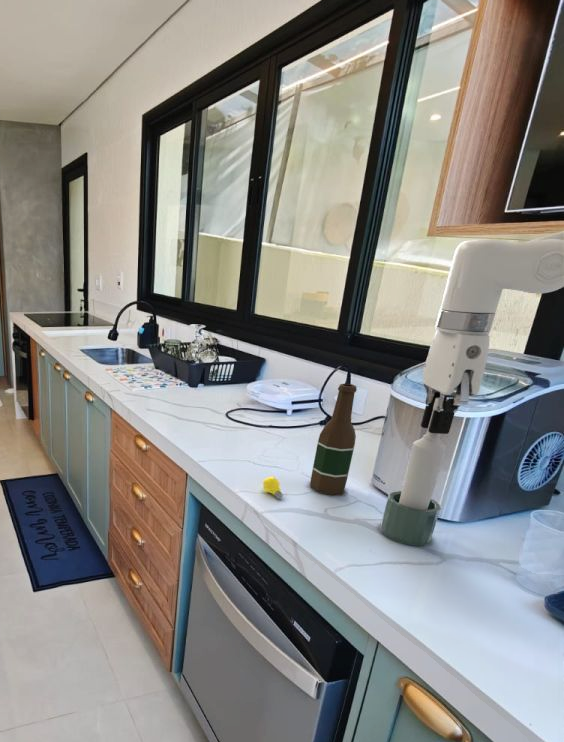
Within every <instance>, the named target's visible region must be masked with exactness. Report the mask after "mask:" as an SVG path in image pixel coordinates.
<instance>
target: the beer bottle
mask: <svg viewBox="0 0 564 742" xmlns="http://www.w3.org/2000/svg"><path fill="white" fill-rule="evenodd" d="M337 390H338V393H337V396H336V401H335V403H334V404H335V405H334V409H333V412H332V416H331V418H330V420H329V421H327V423H326V424H325V425H324V426H323V428H322V430H321V432H320V433H319V436H318V439H317V444H316V450H315V454H314V455H315V456H314V460H313V465H312V471H311V476H310V483H309V486H310V488H311V489H313V490H314V491H316V492H317V493H319V494H323V495H329V496H336V495H337V496H338V495H343V494H344V491H345V489H346V484H347V482H348V479H349V473H350V468H351V463H352V460H353V455H354V450H355V445H356V438H357V435H356V429H355V427H354V425H353V423H352V414H353V406H354V399H355V393H357V385H355V384H352V383H340V384H339V386H338V388H337Z"/></svg>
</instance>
